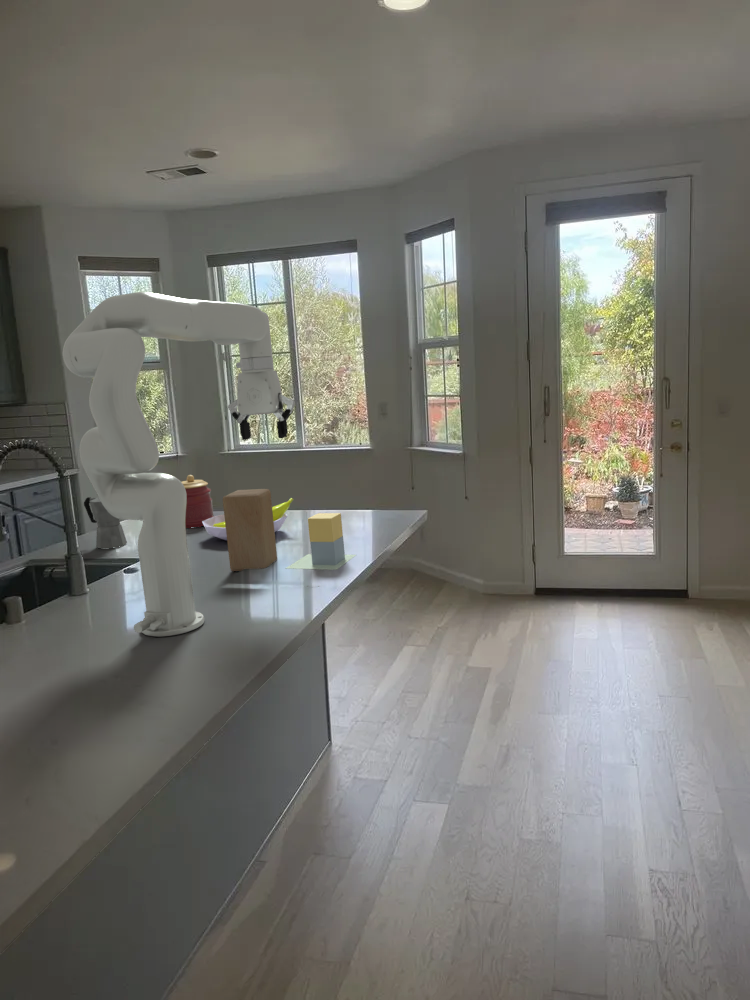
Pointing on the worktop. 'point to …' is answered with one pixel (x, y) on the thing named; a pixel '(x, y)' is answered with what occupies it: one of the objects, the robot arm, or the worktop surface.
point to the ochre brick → (325, 527)
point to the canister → (197, 502)
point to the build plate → (307, 564)
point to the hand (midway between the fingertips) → (264, 438)
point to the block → (250, 529)
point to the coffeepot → (105, 525)
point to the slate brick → (327, 552)
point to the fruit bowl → (218, 528)
